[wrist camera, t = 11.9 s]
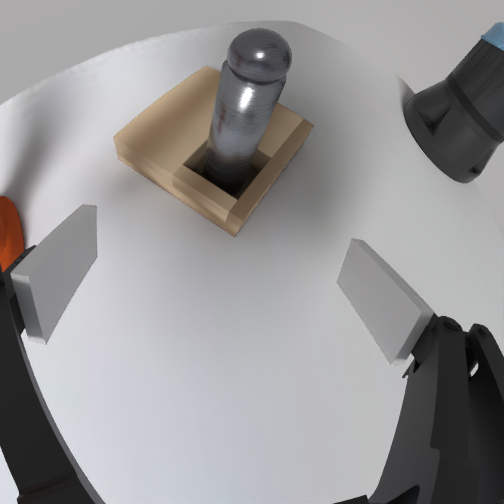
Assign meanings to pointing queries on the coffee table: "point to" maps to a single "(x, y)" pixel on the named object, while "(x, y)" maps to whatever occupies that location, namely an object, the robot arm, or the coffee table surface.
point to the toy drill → (9, 233)
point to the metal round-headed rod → (244, 105)
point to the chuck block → (194, 149)
